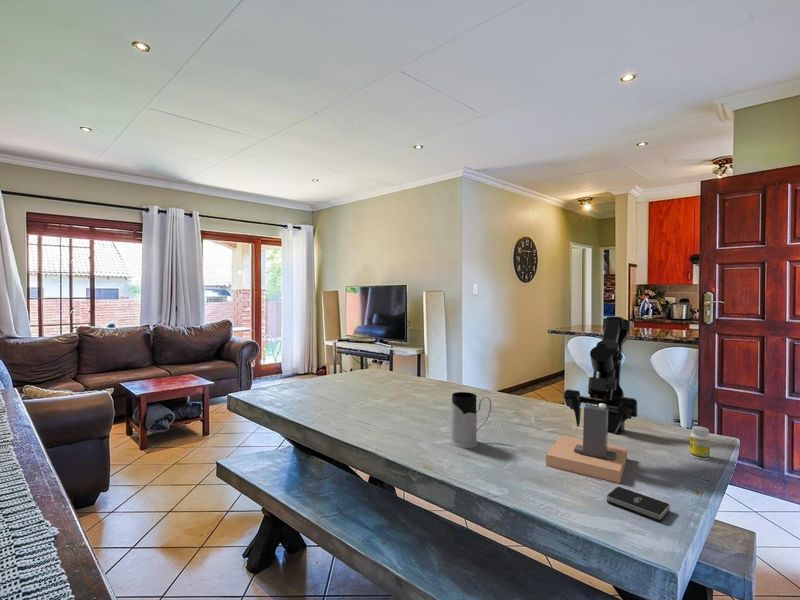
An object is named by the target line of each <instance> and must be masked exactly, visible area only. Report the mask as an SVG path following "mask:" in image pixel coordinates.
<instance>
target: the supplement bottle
mask: <svg viewBox="0 0 800 600" xmlns="http://www.w3.org/2000/svg"><path fill="white" fill-rule="evenodd" d="M709 435H710V430H709V428H707V427H704V426H700V425H694V426H692V427H691V433H690V436H689V455H690V456H691V457H692V458H695V459H697V460H701V461H702V460H703V461H705V460H706V461H708V460H710V458H711V457H710V456H711V437H710V436H709Z"/></svg>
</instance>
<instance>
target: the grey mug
mask: <svg viewBox="0 0 800 600" xmlns="http://www.w3.org/2000/svg"><path fill="white" fill-rule="evenodd" d="M451 395H452V396H451V408H450V409H451V410H450V411H451V412H450V413H451V414H450V415H451V417H450V420H451V421H450V425H451V426H450V428H451V429H450V439H449V444H450V445H451V446H453V447H456V448H463V449H470V448H471V449H472V448H475V447H477V446H478V445H479V444H478V439H477V432H478V431H479V430H480V429H481V428H482V427H483V425H484V424H485V423H487V421H488V419H489V418H490V414H491V412H492V400H491V398H490V397H488V396H483V397H482V396H481V398H480V399H479V401H478V408H477V394H475V393H473V392H467V391H458V392H457V391H456V392H453V393H452V394H451ZM484 399H487V400H488V401H489V408H488V413H487V415H486V417H485V419H484V420H483V421H482V422H481V424H480V425H479V426H478V427H477V424H478V423H477V422H478V418H477V417H478V412H479V411H481V406H482V405H481V404H482V401H483V400H484Z"/></svg>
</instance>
